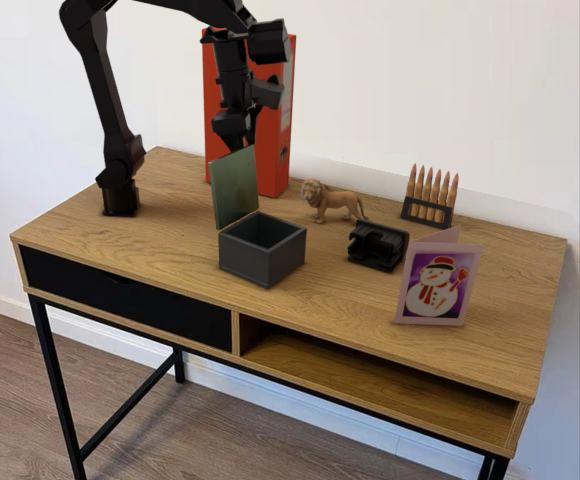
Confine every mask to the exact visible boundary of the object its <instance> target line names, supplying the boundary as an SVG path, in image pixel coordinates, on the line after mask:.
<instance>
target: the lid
mask: <svg viewBox="0 0 580 480" xmlns="http://www.w3.org/2000/svg"><path fill="white" fill-rule="evenodd" d="M208 166H209V174H210V182H211V183H210V190H211V197H212V205H213V213H214V222H215V230H216V231H222V230H224V229H226V228H227V227H229V226H231V225H233V224H235V223H236V222H238V221H240V220H242V219H244V218H245V217H247V216H249V215H251V214H253V213H254V212H256V211H258V210H259V209H260V200H259V194H258V187H257V175H256V163H255V151H254V144H249V145H247V146H245V147H242V148H240V149H238V150H235V151H233V152H231V153H228V154H226V155H224V156H222V157H219V158H217V159H215V160H212V161H210V162H208Z"/></svg>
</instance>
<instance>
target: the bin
mask: <svg viewBox="0 0 580 480" xmlns="http://www.w3.org/2000/svg"><path fill="white" fill-rule="evenodd" d="M307 232H308V228H307V227H305V226H303V225H300V224H296V223H293V222H290V221H288V220H285V219H283V218H280V217H277V216H274V215H271V214H268V213H265V212H262V211H260V210H256V211H254V212H252V213H250V214H248V215H247V216H245V217H243V218H241V219H239V220H238V221H236V222H234V223H232V224H230V225H229V226H227V227H225V228H223V229H222V230H220V231H219V232H217V238H218V240H217V241H218V242H217V243H218V269H219V270H220V271H224V272H226V273H228V274H230V275H233V276H235V277H238V278H240V279H242V280H245V281H247V282H250V283H252V284H254V285H257V286H259V287H262V288H264V289H267V290H269V289H271V288H272V287H274V286H275V285H276V284H278V283H279V282H281V281H282V280H283V279H285V278H286V277H288V276H289V275H290V274H291V273H293V272H295V271H296V270H297V269H299V268H301V267H302V266H303V265H304V264H305V263H306V262H305V259H306V248H307V234H308V233H307Z"/></svg>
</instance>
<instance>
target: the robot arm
mask: <svg viewBox="0 0 580 480" xmlns="http://www.w3.org/2000/svg"><path fill="white" fill-rule="evenodd" d="M118 1H119V0H63V2H62V3H61V5H60V7H59V9H58V17H59V21H60V24H61V26H62V27H63V30H64V32H65V35H66V37H67V39H68V41H69V42H70V43H71V45H72V46H73V47H74V48H75V50H76V51H77V52H78V53H79V55H80V57H81V61H82V64H83V67H84V71H85V73H86V77H87V81H88V84H89V87H90V90H91V91H90V92H91V94H92V97H93V101H94V104H95V107H96V111H97V114H98V118H99V121H100V124H101V128H102V131H103V147H102V148H103V149H102V154H103V161H104V168H103V169H102V170H101V171H100V173H98V175H96V177H95V178H94V180H95V182H96V185H97V187H98V188H99V189H101V194H102V201H103V210H102V212H101V214H102V216H115V217H130V218H131V217H134V216H135V215H136V213H137V211H138V210H139V209H140V207H141V198H140V192H139V191H140V190H139V187H138V186H137V185H136V179H135V178H133V177H135V176H136V175H137V172H138V171H139V170H140V169H141V168H142V167H143V165H144V163H145V160H146V159H145V156H146V155H147V153H148V152H147V151H146V149H145V147H144V143H143V136H142V134H140V133H138V134H134V133H133V132H132V130H131V128H130V127H129V126H128V123H127V119H126V115H125V111H124V108H123V103H122V100H121V97H120V94H119V90H118V86H117V83H116V79H115V74H114V72H113V68H112V65H111V60H110V57H109V52H108V49H107V47H108V34H109V33H108V32H109V27H108V21H107V20H108V18H107V12H109V11H110V9H112V8H113V7H114V6H115V5H116V4H117V3H118ZM132 1H134V2H138V3H142V4H147V5H151V6H155V7H160V8H163V9H164V8H165V9H170V10H173V11H178V12H182V13H185V14H187V15H189V16H190V17H192V18H194V19H195V20H196V21H198V22H201V23H203V24H205V25H208V26H207V27H205V28H206V31H205V33H204V35H203V37H202V36H201V37H200V39H199V43H200V44H201V45H202V44H206V43H212V45H213V50H214V56H215V61H216V67H217V73H218V76H217V77H216V78H215V80H216V85H218V84H220V89H221V95H222V101H221V102H220V107H221V108H228V109H226V110H219V111H218V113H217V114H216V115H215V116H214V118H213V119H212V121H211V126H212V131H213V132H214V133H216V135H218V136H219V137H220V138H221V139H222V140H223V142H224V143H225V144H226V146H227V147H228V148H229V150H230V151H231V152H233V151H235V150H238V149H240V148H242V147H245V139H246V141H247V143H248V144H254V146H255V141H256V128H257V117H258V114H259V113H260V112H261V110H262V109H263V107H264V106H266V107H269V108H270V109H273V110H278V109H279V107H280V105H281V103H282V99H283V94H284V91H285V87H284V84H281V80H280V76H279V75H276V74H271V75H270V77H269V78H268V79H267V81H266V80H265V79H262V80H261V79H257V78H255V72H254V71H253V70H252V69H249V62H248V56H247V50H248V55H249V58H250V59H251V60H252V62H255V63H256V64H257V65H266V64H277V63H287V62H290V56H291V48H290V37H288V34H289V32H288V30H287V27H286V22H285V18H284V17H281V18H275V19H272V20H265V21H258V20H257V18H256V17H255V16H254V15H253V14H252V13H251V12H250V10H249V9H248V8H247V7H246V6H245V4H244V3H243V0H132ZM213 27H215V28H220V29H222V28H226V29H222V30H216V29H214V28H213ZM245 39H246V40H247V49H246V42H245Z"/></svg>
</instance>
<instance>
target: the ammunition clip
mask: <svg viewBox="0 0 580 480" xmlns="http://www.w3.org/2000/svg"><path fill="white" fill-rule="evenodd" d="M425 169H426V168H425V165H422V166H421V167H420V169H419V172H418V175H417V170H418V169H417V163H414V164H413V165H412V167H411V170H410V174H409V178H408V181H407V186H406V191H405V196H404V200H403V202H402V203H403V204H402V209H401V213H400V219H402V220H406V221H408V222H409V221H410V222H413V223H417V224H421V225H424V226H428V227H432V228H436V229H440V230H446V229H449V228H452V224H453V219H454V211H455V206H456V205H455V204H456V201H457V196H458V186H459V177H460V176H459V172H456V173H455V175H454V177H453V179H452V182H451V186H450V181H451V172H450V170H448V171H447V172H446V174H445V176H444V178H443V182H441V181H442V170H441V168H439V169H438V171H437V173H436V175H435V177H434V168H433V167H432V166H431V167H430V168H429V170H428V172H427V176H426V179H425V174H426V170H425ZM417 176H418V177H417ZM433 177H434V182H433ZM441 183H442V186H441ZM449 187H450V189H449Z"/></svg>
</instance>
